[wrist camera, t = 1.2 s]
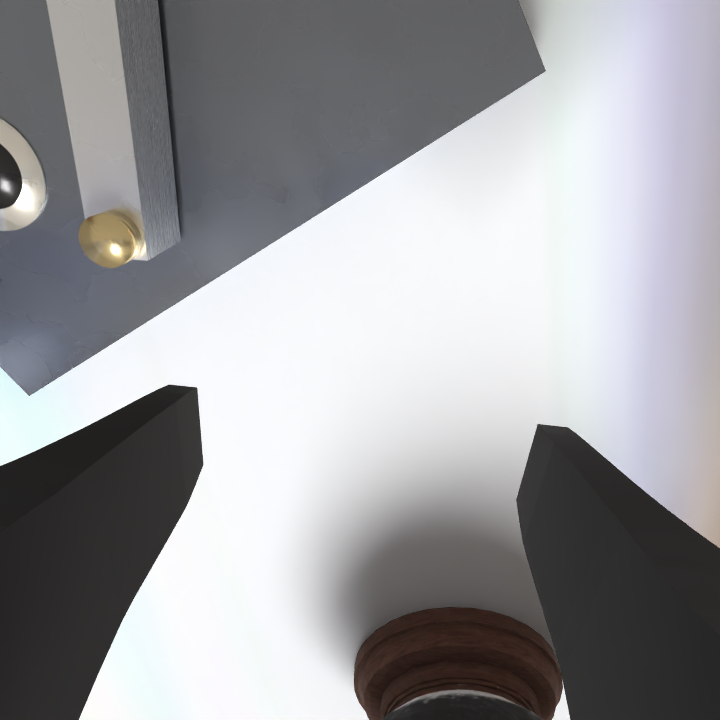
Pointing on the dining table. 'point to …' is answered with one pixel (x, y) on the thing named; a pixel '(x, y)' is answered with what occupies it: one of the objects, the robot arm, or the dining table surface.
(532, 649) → the black ball on base
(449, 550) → the dining table surface
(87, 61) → the leg
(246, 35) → the bolt plate
